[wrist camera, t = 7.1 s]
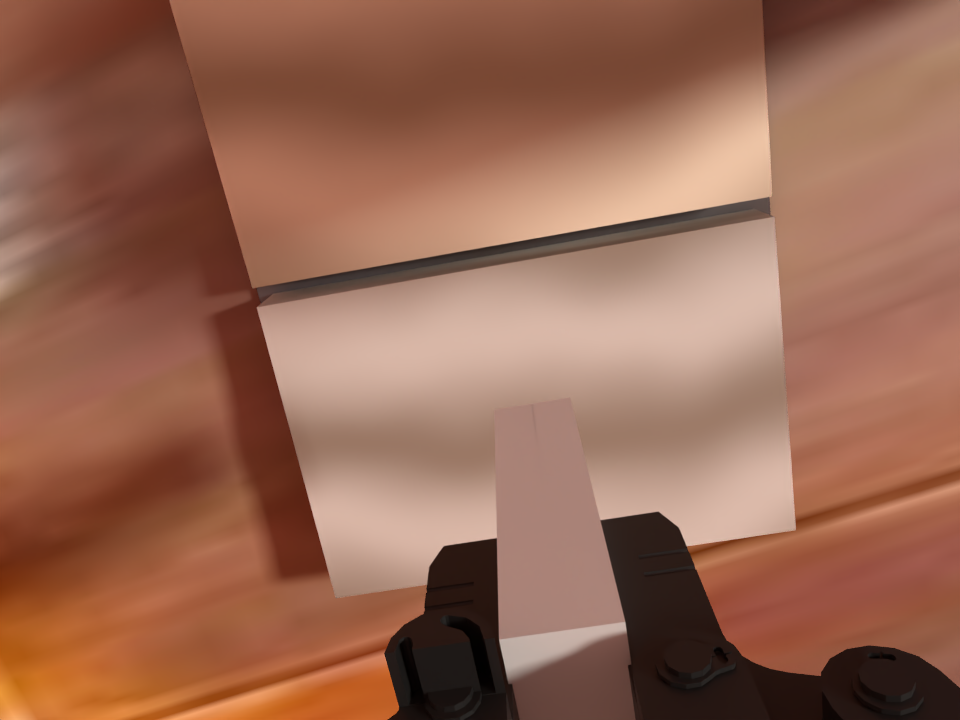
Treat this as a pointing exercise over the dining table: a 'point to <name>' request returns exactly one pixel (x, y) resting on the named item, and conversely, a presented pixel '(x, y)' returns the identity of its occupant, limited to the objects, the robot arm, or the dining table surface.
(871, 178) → the dining table surface
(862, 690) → the robot arm
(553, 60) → the floor board
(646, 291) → the plank
